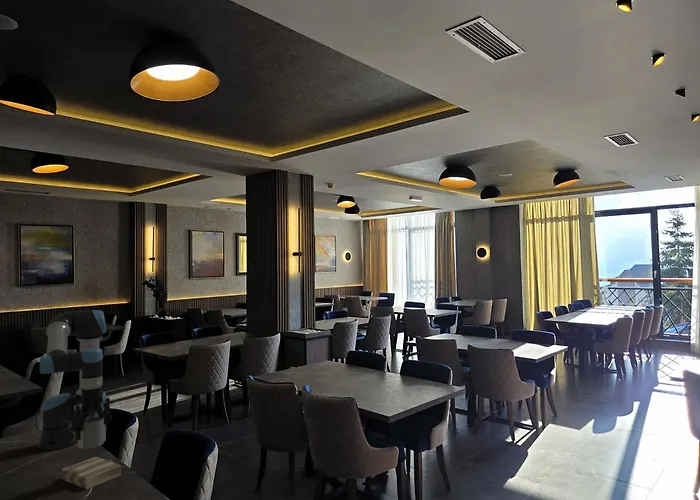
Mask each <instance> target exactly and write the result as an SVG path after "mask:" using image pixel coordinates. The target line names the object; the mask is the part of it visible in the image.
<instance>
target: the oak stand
mask: <svg viewBox="0 0 700 500" xmlns="http://www.w3.org/2000/svg"><path fill="white" fill-rule="evenodd" d="M120 476H122V464H119V463H117V462H114V461H110V460H108V459H104V458H101V457H99V456H94V457H92V458H90V459H89V458H88V459H85V460H83V461H80V462H78V463H75V464H73V465H70V466H66V467H63V468H61V480H63V481H65V482H67V483H70V484H73V485H75V486H78V487H80V488H83V489H85V490H89V489H90V488H92V487H95V486H98V485H100V484H103V483H106V482H108V481H109V480H110V481H111V480H113V479H115V478H117V477H120Z"/></svg>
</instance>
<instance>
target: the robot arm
mask: <svg viewBox="0 0 700 500" xmlns="http://www.w3.org/2000/svg"><path fill="white" fill-rule="evenodd" d="M45 331H46V332H45V334H46V336H47V337H48V339H47V345H46V346H47V348H46V354H45V355H41V356H40V357H39V358H40V359H39V373H40V374H42V375H44V374H47V375H49V374H58V373H65V372H66V373H67V372H74V371H75V372H76V371H79V388H78V389H77V391H76V392H75V395H71V393H68V392H67V393H61V394H57V395H53V396H50V397H48V398H46V399H45V400H44V401H42V402H43V403H42V409H41V412H42V423H41V424H42V427H41V428H42V431H41V434H40V436H39V439H38V441H37V449H38V450H40V451H55V450H59V449H63V448H66V447H69V446H71V445H73V444H74V443H75V442H76V441H77V448H78V449H83V431H81V430H82V428H83V425H84V423H85V420H86V418H89V417H100V418H101V419H103V418H104V442H106V441H107V440H106V439H107V437H106V436H107V435H106V432H108V425H109V424H110V422H112V421H113V417H112V410H111V405H110V401H111V398H109V397H107V396H106V392H105V391H103V366H104V365H103V363H104V362H103V359H104V355H103V349H102V348H100V341H101V339H103V337H104V334H105V333H107V326H106V319H105V314H104V311H103V310H100V309H99V310H97V309H96V310H95V309H92V310H91V309H89V310H78V311H77V310H76V311H74V310H73V311H66V312H63V313H60V314H58V315H57V316H55V317H53V318H52V319H51V321H49V323H48V325H47V327H46V330H45ZM69 336H76V337H75V338H76V340H77V341H79V351H76V352H68V338H69Z"/></svg>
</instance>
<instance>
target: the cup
mask: <svg viewBox="0 0 700 500" xmlns="http://www.w3.org/2000/svg"><path fill="white" fill-rule="evenodd" d="M81 431H83V448H82V449H84V450H85V449H86V450H87V449H93V448H97V447H100V446H102V445H104V442H105V441H104V418H103V419H101V418H100V417H99V416H97V417H89V418H86V420H85V423H84V425H83V428H82V430H81Z"/></svg>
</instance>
